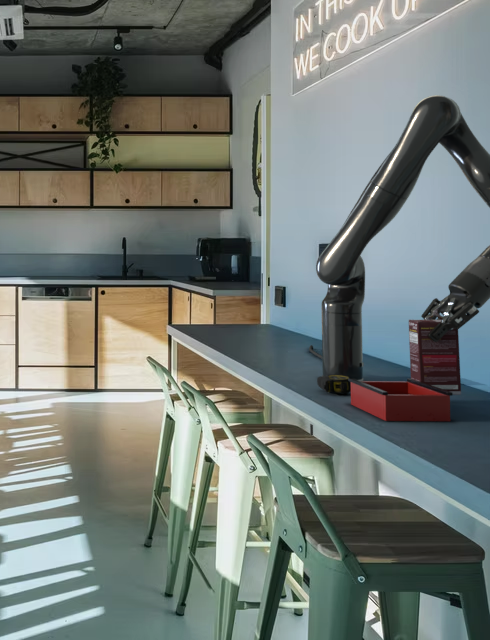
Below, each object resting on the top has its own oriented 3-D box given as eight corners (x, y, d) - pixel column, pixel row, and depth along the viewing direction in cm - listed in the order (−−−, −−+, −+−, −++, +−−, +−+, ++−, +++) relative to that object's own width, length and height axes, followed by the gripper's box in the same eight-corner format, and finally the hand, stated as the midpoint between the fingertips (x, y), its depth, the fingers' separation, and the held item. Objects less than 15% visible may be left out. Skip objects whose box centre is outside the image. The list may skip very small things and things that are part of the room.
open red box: (348, 404, 157) (348, 378, 157) (412, 404, 157) (411, 378, 157) (383, 421, 142) (382, 392, 142) (453, 421, 142) (452, 392, 142)
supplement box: (450, 391, 161) (448, 319, 162) (461, 395, 156) (459, 321, 157) (409, 390, 162) (407, 318, 163) (419, 395, 157) (417, 321, 158)
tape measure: (316, 389, 172) (316, 373, 173) (347, 390, 171) (346, 374, 171) (323, 395, 166) (323, 379, 166) (356, 396, 165) (355, 380, 165)
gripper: (446, 269, 167) (394, 321, 167) (486, 271, 153) (430, 329, 153) (470, 292, 167) (418, 345, 167) (512, 296, 153) (456, 354, 152)
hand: (424, 337), depth 160 cm, fingers closed on supplement box, 5 cm apart
